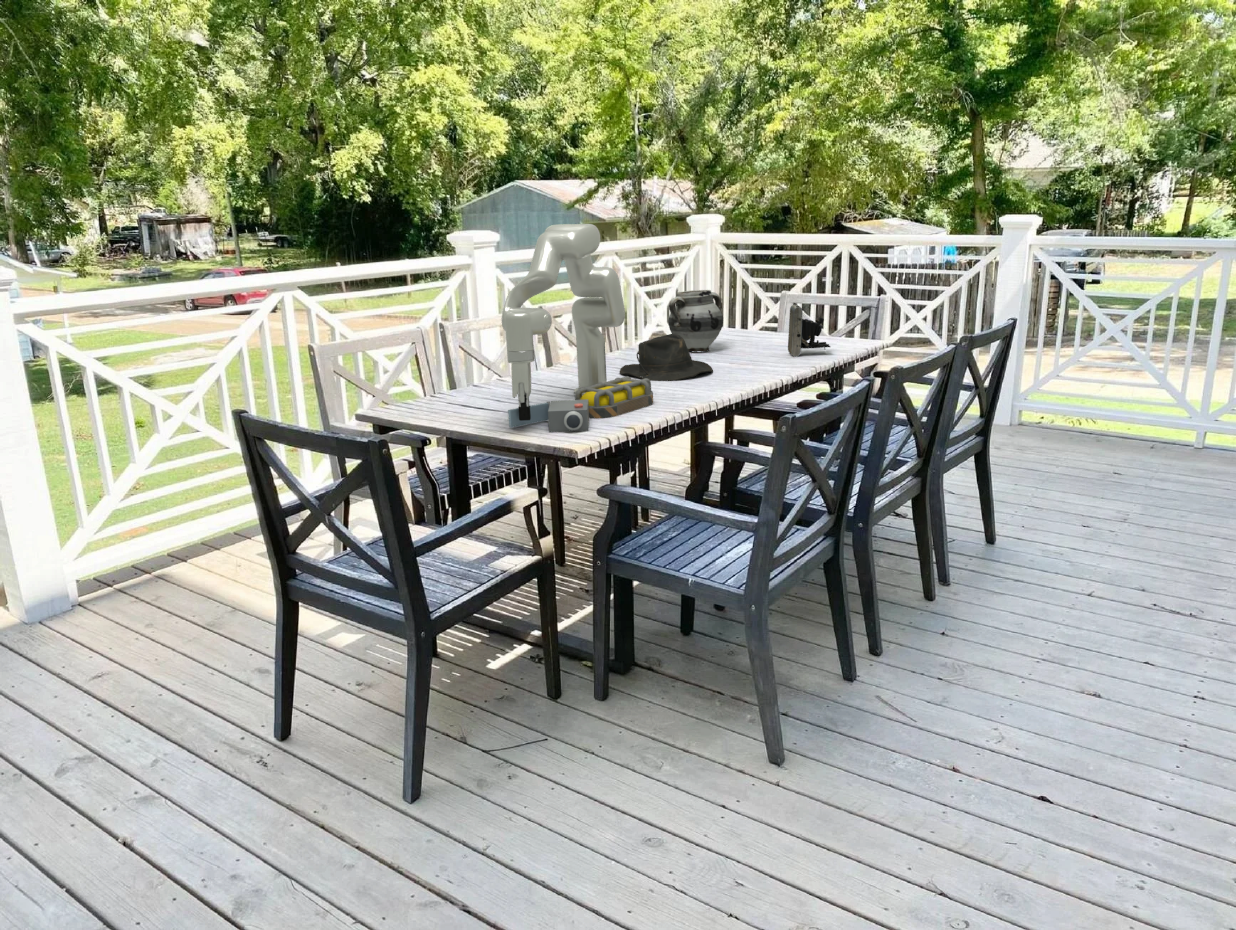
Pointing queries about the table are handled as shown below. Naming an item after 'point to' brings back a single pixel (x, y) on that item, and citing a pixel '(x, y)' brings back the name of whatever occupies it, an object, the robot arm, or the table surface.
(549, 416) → the camera housing
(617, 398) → the cage light
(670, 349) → the hat
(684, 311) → the ceramic pot
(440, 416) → the table surface
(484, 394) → the table surface
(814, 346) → the vintage camera
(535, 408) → the side door
